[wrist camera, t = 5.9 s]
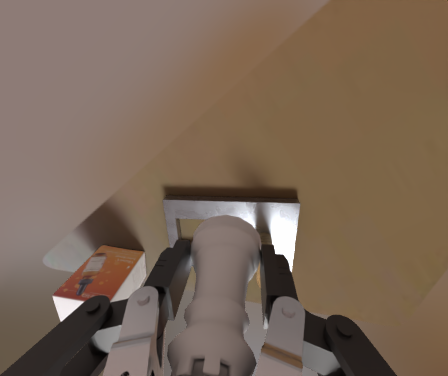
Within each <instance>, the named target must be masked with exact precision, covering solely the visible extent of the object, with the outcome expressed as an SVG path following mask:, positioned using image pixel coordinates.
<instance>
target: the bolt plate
mask: <svg viewBox="0 0 448 376" xmlns="http://www.w3.org/2000/svg"><path fill="white" fill-rule="evenodd" d="M163 205H164V211H165V217H166V224H167V230H168V237H169V243H170V248H173V246H174V244H175V242H176V240H182V238H181V230H180V222H179V218H181V219H209V218H210V217H214V216H220V215H229V216H235V217H240V218H241V219H243V220H245V221H247V222H248V223H250V224H252V226H253V227H254V228H255V229H256V231H257V232H258V233H259V235H260V239H261V244H270V245H274V247H275V253H276V254H284V256H285V257H286V258H287V259H288V261H289V265H290V269H291V270H292V262H293V255H294V247H295V239H296V232H297V224H298V216H299V208H300V202H299V200H298V199H293V198H253V197H213V196H174V195H166V197H165V198H164V199H163ZM190 247H191V245H190ZM191 266H193V263H192V265H191ZM257 284H258V286H259V287H260V288H261V283H260V263H259V266H258V270H257Z"/></svg>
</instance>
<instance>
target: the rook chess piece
mask: <svg viewBox="0 0 448 376" xmlns="http://www.w3.org/2000/svg"><path fill="white" fill-rule="evenodd" d="M190 255H191V260H192V263H193V267H194V270H195V273H196V285H195V293H194V297H193V300H192V302H191V303H190V304H189V305H188V307H187V308H186V309H185V314H184V319H185V321H186V323H187V326H186V329H185V330H184V331H182V332H181V333H180V334H179V335H177V336H176V337H175V338H174V339H173V340H172V342H171V343H170V344H169V345H168V353H167V356H168V360H169V363H170V366H171V369H172V373H171V376H252V374H253V372H254V369H255V366H256V360H255V357H254V354H253V352H252V350H251V349H250V347H249V346H248V344H247V343H246V342H245V340H244V337H243V335H244V333H245V332H246V331H247V330H248V326H249V318H248V315H247V313H246V312H245V298H246V292H247V286H248V282H249V281H250V280H251V279H252V278H253V274H254V273H255V272H256V271H257V270H258V266H259V263H260V259H261V239H260V235H259V233H258V232H257V231H256V229H255V228H254V227H253V226H252V224H250V223H248V222H247V221H245V220H243V219H241V218H240V217H235V216H229V215H220V216H214V217H210V218H209V219H207V220H205V221H204V222H202V223H201V224H200V225H199V226H198V228H197V229H196V231H195V232H194V236H193V241H192V243H191V252H190Z"/></svg>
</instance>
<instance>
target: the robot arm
mask: <svg viewBox="0 0 448 376" xmlns="http://www.w3.org/2000/svg"><path fill="white" fill-rule="evenodd" d="M190 252H191V247H190V241H189V240H176V242H175V244H174V246H173V248H167V249H165V250H164V251H163V252H162V253H161V255H160V257H159V258H158V261H157V262H156V264H155V266H154V268H153V269H152V271H151V273H150V275H149V277H148V279H147V280H146V282H145V284H144V286H143V287H141V288H139V289H137V290H135V291H134V292H133V293H132V294H131V295H130V297H129V298H128V299H124V300H119V301H115V302H110V300H109V298H108V297H107V296H105V295H98V296H94V297H91V298H89V299H88V300H86V301H85V302H83V303H82V304H81V305H80V306H79V307H78V308H76V309H75V310H74V311H73V312H72V313H71V314H70V315H68V316H67V317H66V318H65V319H64V320H63V321H62V322H60V323H59V324H58V325H57V326H56V327H55V328H54V329H52V330H51V331H50V332H49V333H48V334H47V335H46V336H45V337H43V338H42V339H41V340H40V341H39V342H38V343H36V344H35V345H34V346H33V347H32V348H31V349H30V350H28V351H27V352H26V353H25V354H24V355H23V356H22V357H21V358H19V359H18V360H17V361H16V362H15V363H14V364H12V365H11V366H10V367H9V368H8V369H7V370H6V371H4V372H3V373H2V374H1V375H0V376H98V375H99V374H100V373H101V372H102V370H103V369H104V368H105V370H104V374H103V376H163V365H164V347H165V346H164V345H165V326H166V323H167V321H168V320H175V317H176V314H177V310H178V307H179V304H180V301H181V298H182V295H183V292H184V289H185V286H186V283H187V280H188V277H189V273H190V270H191V265H192V260H191V255H190ZM260 283H261V298H262V313H263V328H264V329H267V333H266V337H265V342H264V345H263V346H262V349H261V353H260V357H259V361H258V365H257V369H256V374H255V376H302V368H303V366H305V367H307V368H309V369H311V370H313V371H315V372H317V374H318V376H397V375H396V374H395V373H394V371H393V370H392V369H391V368H390V366H389V365H388V364H387V362H386V361H385V360H384V359H383V357H382V356H381V355H380V354H379V352H378V351H377V350H376V348H375V347H374V346H373V345H372V343H371V342H370V341H369V339H368V338H367V337H366V336H365V334H364V333H363V332H362V330H361V329H360V328H359V327H358V326H357V324H355V323H354V322H353V321H352V320H350V319H349V318H347V317H345V316H342V315H332V316H330V317H328V318H327V320H326V319H323V318H321V317H318V316H315V315H313V314H311V313H309V312H308V311H306V310H305V309H304V308H303V306H302V305H301V304H300V303H299V301H298V297H297V293H296V289H295V285H294V281H293V277H292V273H291V269H290V265H289V261H288V259H287V258H286V257H285V256H284V254H276V253H275V247H274V245H270V244H261V259H260ZM78 351H79V352H78ZM77 352H78V353H77ZM76 353H77V354H76ZM75 354H76V355H75ZM74 355H75V356H74ZM73 356H74V357H73Z"/></svg>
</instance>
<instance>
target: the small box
mask: <svg viewBox="0 0 448 376" xmlns="http://www.w3.org/2000/svg"><path fill="white" fill-rule="evenodd" d="M145 277H146V264H145V252H143V251H135V250H128V249H122V248H117V247H110V246H106V245H102V246H101V247H100V248H99V249H98V250H97V251H96V252H95V253H94V254H93V255H92V256H91V257H90V258H89V259H88V260H87V261H86V262H85V263H84V264H83V265H82V266H81V267H80V268H79V269H78V270H77V271H76V272H75V273H74V274H73V275H72V276H71V277H70V278H69V279H68V280H67V281H66V282H65V283H64V284H63V285H62V286H61V287H60V288H59V289H58V290H57V291H56V292H55V293H54V294H53V299H54V303H55V306H56V309H57V312H58V315H59V318H60V321H61V322H62V321H63V320H64V319H65V318H66V317H67V316H68V315H70V314H71V313H72V312H73V311H74V310H75V309H76V308H78V307H79V306H80V305H81V304H82V303H83V302H85V301H86V300H88V299H89V298H91V297H94V296H98V295H105V296H107V297H108V298H109V300H110V302H115V301H119V300H124V299H128V298H129V297H130V295H131V294H132V293H133V292H134V291H135V290H137V289H139V287H140V285H141V283H142V282H143V280H144V278H145Z"/></svg>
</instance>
